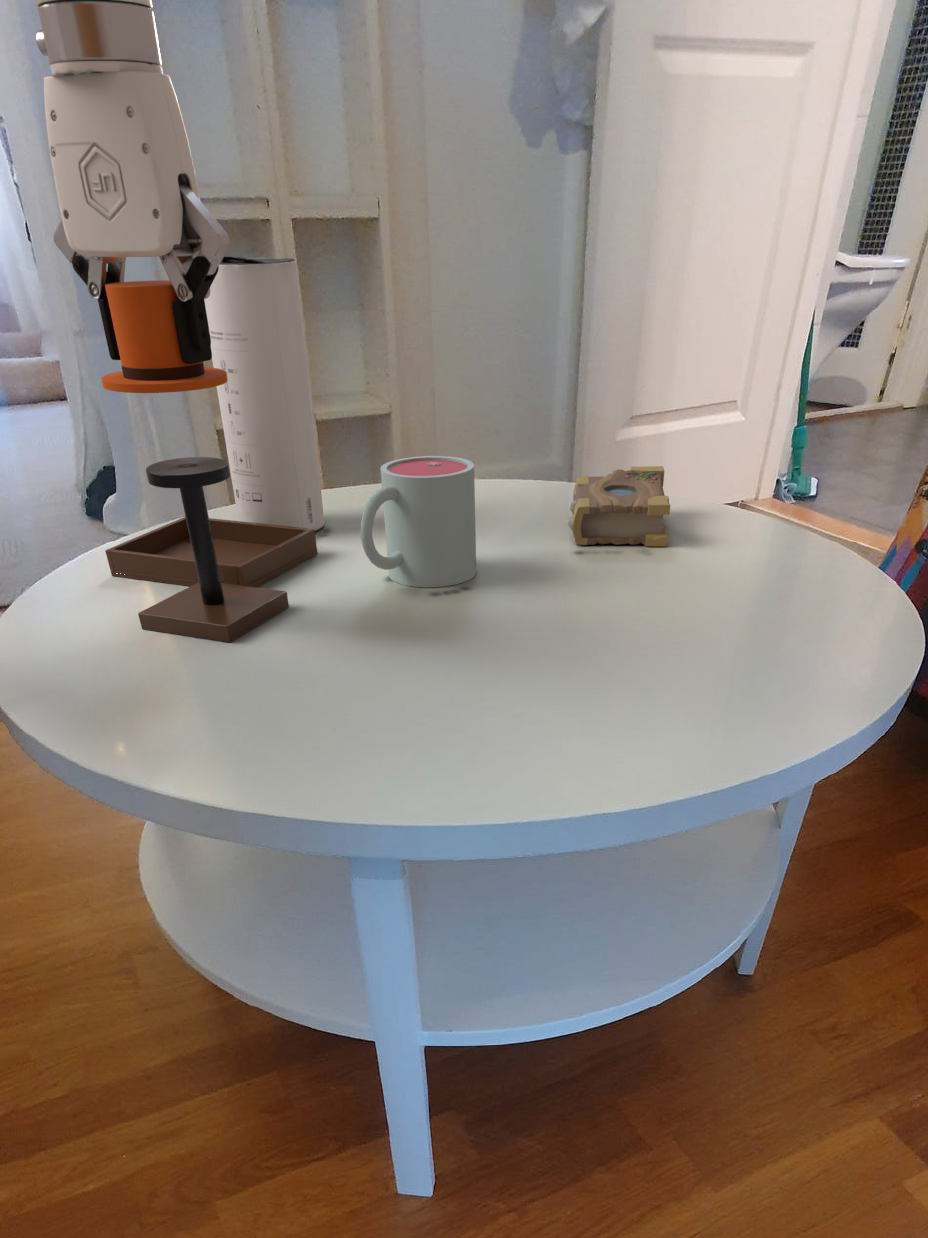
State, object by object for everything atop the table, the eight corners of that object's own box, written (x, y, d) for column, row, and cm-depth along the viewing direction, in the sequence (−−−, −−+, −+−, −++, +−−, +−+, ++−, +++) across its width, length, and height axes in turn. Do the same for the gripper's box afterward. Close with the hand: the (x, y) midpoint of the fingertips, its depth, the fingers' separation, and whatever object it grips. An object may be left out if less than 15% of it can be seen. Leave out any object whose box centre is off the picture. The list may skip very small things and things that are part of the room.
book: (667, 547, 103) (672, 497, 100) (567, 547, 104) (569, 498, 101) (658, 511, 114) (663, 466, 111) (568, 512, 115) (569, 467, 112)
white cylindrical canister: (344, 526, 113) (316, 252, 96) (273, 545, 107) (230, 258, 90) (291, 511, 119) (256, 250, 102) (222, 528, 113) (172, 256, 96)
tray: (111, 576, 100) (104, 550, 98) (192, 539, 110) (187, 515, 108) (245, 593, 95) (240, 566, 93) (317, 553, 104) (314, 528, 103)
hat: (76, 389, 75) (51, 287, 71) (155, 372, 82) (137, 278, 78) (177, 396, 72) (158, 289, 68) (251, 377, 79) (238, 279, 75)
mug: (432, 554, 103) (428, 452, 97) (494, 571, 98) (493, 464, 92) (337, 585, 96) (325, 477, 89) (398, 605, 91) (390, 492, 84)
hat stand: (141, 629, 88) (102, 474, 79) (205, 595, 94) (175, 450, 86) (230, 642, 84) (199, 483, 76) (289, 607, 91) (267, 457, 83)
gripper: (-33, 51, 64) (46, 361, 76) (171, 33, 59) (223, 371, 71) (45, 61, 70) (108, 350, 81) (239, 46, 64) (277, 358, 76)
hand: (161, 357), depth 76 cm, fingers closed on hat, 6 cm apart
